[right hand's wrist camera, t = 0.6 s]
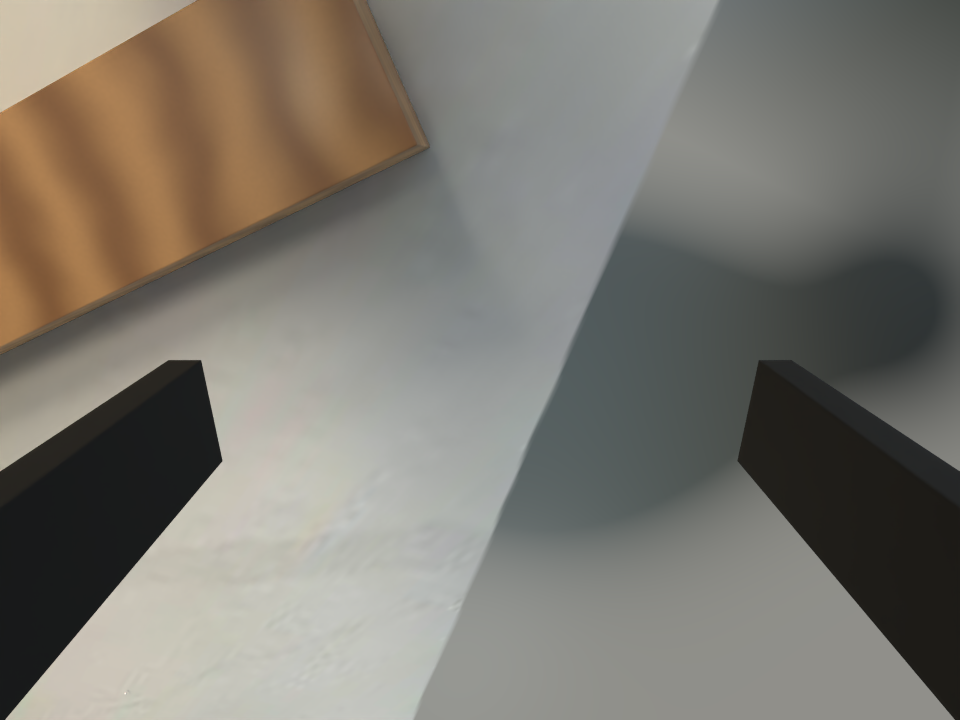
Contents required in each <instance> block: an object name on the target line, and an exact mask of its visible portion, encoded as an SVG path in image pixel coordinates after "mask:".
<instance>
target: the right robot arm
mask: <svg viewBox="0 0 960 720" xmlns="http://www.w3.org/2000/svg"><path fill="white" fill-rule="evenodd" d="M221 462H222V456H221V452H220V447H219V442H218V438H217V433H216V428H215V424H214V419H213V414H212V409H211V405H210V400H209V395H208V391H207V386H206V381H205V376H204V372H203V367H202V362H201V360H168V361H167V362H165V363H164V364H162V365H161V366H159V367H158V368H156V369H155V370H153V371H152V372H150V373H149V374H147V375H146V376H144V377H143V378H141V379H140V380H138V381H136V382H135V383H133V384H132V385H130V386H129V387H127V388H126V389H124V390H123V391H121V392H120V393H118V394H117V395H115V396H114V397H112V398H111V399H109V400H108V401H106V402H105V403H103V404H102V405H100V406H99V407H97V408H96V409H94V410H93V411H91V412H90V413H88V414H87V415H85V416H84V417H82V418H81V419H79V420H77V421H76V422H74V423H73V424H71V425H70V426H68V427H67V428H65V429H64V430H62V431H61V432H59V433H58V434H56V435H55V436H53V437H52V438H50V439H49V440H47V441H46V442H44V443H43V444H41V445H40V446H38V447H37V448H35V449H34V450H32V451H31V452H29V453H28V454H26V455H25V456H23V457H21V458H20V459H18V460H17V461H15V462H14V463H12V464H11V465H9V466H8V467H6V468H5V469H3V470H2V471H0V720H5V719H6V718H7V717H8V715H9V714H10V713H11V712H12V711H13V710H14V708H15V707H16V706H17V705H18V704H19V702H20V701H21V700H22V699H23V698H24V696H25V695H26V694H27V693H28V692H29V690H30V689H31V688H32V687H33V686H34V685H35V683H36V682H37V681H38V680H39V679H40V677H41V676H42V675H43V674H44V673H45V671H46V670H47V669H48V668H49V667H50V665H51V664H52V663H53V662H54V661H55V660H56V658H57V657H58V656H59V655H60V654H61V652H62V651H63V650H64V649H65V648H66V646H67V645H68V644H69V643H70V642H71V641H72V639H73V638H74V637H75V636H76V635H77V633H78V632H79V631H80V630H81V629H82V627H83V626H84V625H85V624H86V623H87V621H88V620H89V619H90V618H91V617H92V616H93V614H94V613H95V612H96V611H97V610H98V608H99V607H100V606H101V605H102V604H103V602H104V601H105V600H106V599H107V598H108V596H109V595H110V594H111V593H112V592H113V591H114V589H115V588H116V587H117V586H118V585H119V583H120V582H121V581H122V580H123V579H124V577H125V576H126V575H127V574H128V573H129V572H130V570H131V569H132V568H133V567H134V566H135V564H136V563H137V562H138V561H139V560H140V558H141V557H142V556H143V555H144V554H145V552H146V551H147V550H148V549H149V548H150V547H151V545H152V544H153V543H154V542H155V541H156V539H157V538H158V537H159V536H160V535H161V533H162V532H163V531H164V530H165V529H166V527H167V526H168V525H169V524H170V523H171V522H172V520H173V519H174V518H175V517H176V516H177V514H178V513H179V512H180V511H181V510H182V508H183V507H184V506H185V505H186V504H187V503H188V501H189V500H190V499H191V498H192V497H193V495H194V494H195V493H196V492H197V491H198V489H199V488H200V487H201V486H202V485H203V483H204V482H205V481H206V480H207V479H208V478H209V476H210V475H211V474H212V473H213V472H214V470H215V469H216V468H217V467H218V466H219V464H220V463H221ZM738 462H739V463H740V464H741V466H742V467H743V468H744V469H745V470H746V472H747V473H748V474H749V475H750V476H751V478H752V479H753V480H754V481H755V482H756V483H757V485H758V486H759V487H760V488H761V489H762V491H763V492H764V493H765V494H766V495H767V496H768V498H769V499H770V500H771V501H772V503H773V504H774V505H775V506H776V507H777V508H778V510H779V511H780V512H781V513H782V514H783V516H784V517H785V518H786V519H787V520H788V522H789V523H790V524H791V525H792V526H793V527H794V529H795V530H796V531H797V532H798V533H799V535H800V536H801V537H802V538H803V539H804V541H805V542H806V543H807V544H808V545H809V547H810V548H811V549H812V550H813V551H814V552H815V554H816V555H817V556H818V557H819V558H820V560H821V561H822V562H823V563H824V564H825V566H826V567H827V568H828V569H829V570H830V571H831V573H832V574H833V575H834V576H835V577H836V579H837V580H838V581H839V582H840V583H841V585H842V586H843V587H844V588H845V589H846V591H847V592H848V593H849V594H850V595H851V596H852V598H853V599H854V600H855V601H856V602H857V604H858V605H859V606H860V607H861V608H862V610H863V611H864V612H865V613H866V614H867V616H868V617H869V618H870V619H871V620H872V621H873V623H874V624H875V625H876V626H877V627H878V629H879V630H880V631H881V632H882V633H883V635H884V636H885V637H886V638H887V639H888V641H889V642H890V643H891V644H892V645H893V646H894V648H895V649H896V650H897V651H898V652H899V654H900V655H901V656H902V657H903V658H904V659H905V661H906V662H907V663H908V664H909V665H910V667H911V668H912V669H913V670H914V671H915V673H916V674H917V675H918V676H919V677H920V679H921V680H922V681H923V682H924V683H925V684H926V686H927V687H928V688H929V689H930V690H931V692H932V693H933V694H934V695H935V696H936V698H937V699H938V700H939V701H940V702H941V704H942V705H943V706H944V707H945V708H946V710H947V711H948V712H949V713H950V714H951V715H952V717H953V718H954V719H955V720H960V471H958V470H957V469H955V468H954V467H952V466H951V465H949V464H948V463H946V462H945V461H943V460H942V459H940V458H939V457H937V456H935V455H934V454H932V453H931V452H929V451H928V450H926V449H925V448H923V447H922V446H920V445H919V444H917V443H916V442H914V441H913V440H911V439H910V438H908V437H907V436H905V435H904V434H902V433H901V432H899V431H898V430H896V429H895V428H893V427H892V426H890V425H889V424H887V423H886V422H884V421H882V420H881V419H879V418H878V417H876V416H875V415H873V414H872V413H870V412H869V411H867V410H866V409H864V408H863V407H861V406H860V405H858V404H857V403H855V402H854V401H852V400H851V399H849V398H848V397H846V396H845V395H843V394H842V393H840V392H839V391H837V390H836V389H834V388H833V387H831V386H830V385H828V384H826V383H825V382H824V381H822V380H820V379H819V378H817V377H816V376H814V375H813V374H811V373H810V372H808V371H807V370H805V369H804V368H802V367H801V366H799V365H798V364H796V363H795V362H793V361H792V360H759V362H758V367H757V372H756V377H755V381H754V386H753V391H752V396H751V400H750V405H749V409H748V414H747V419H746V424H745V428H744V433H743V438H742V442H741V447H740V452H739V456H738Z"/></svg>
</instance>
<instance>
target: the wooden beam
mask: <svg viewBox="0 0 960 720" xmlns="http://www.w3.org/2000/svg"><path fill="white" fill-rule="evenodd" d="M429 147H430V145H429V143H428V141H427V139H426V136H425V134H424V132H423V129H422V127H421V125H420V123H419V120H418V118H417V116H416V114H415V111H414V109H413V107H412V104H411V102H410V100H409V98H408V95H407V93H406V91H405V89H404V86H403V84H402V82H401V79H400V77H399V75H398V73H397V70H396V68H395V66H394V63H393V61H392V59H391V57H390V54H389V52H388V50H387V48H386V45H385V43H384V41H383V38H382V36H381V34H380V32H379V29H378V27H377V25H376V22H375V20H374V18H373V16H372V13H371V11H370V9H369V7H368V4H367V2H366V0H197V1H195V2H194V3H192V4H190V5H188V6H187V7H185V8H183V9H181V10H180V11H178V12H176V13H174V14H173V15H171V16H169V17H167V18H166V19H164V20H162V21H160V22H159V23H157V24H155V25H153V26H152V27H150V28H148V29H146V30H145V31H143V32H141V33H139V34H138V35H136V36H134V37H132V38H131V39H129V40H127V41H125V42H124V43H122V44H120V45H118V46H117V47H115V48H113V49H111V50H110V51H108V52H106V53H104V54H103V55H101V56H99V57H97V58H96V59H94V60H92V61H90V62H89V63H87V64H85V65H83V66H82V67H80V68H78V69H76V70H75V71H73V72H71V73H69V74H68V75H66V76H64V77H62V78H60V79H59V80H57V81H55V82H53V83H52V84H50V85H48V86H46V87H45V88H43V89H41V90H39V91H38V92H36V93H34V94H32V95H31V96H29V97H27V98H25V99H24V100H22V101H20V102H18V103H17V104H15V105H13V106H11V107H10V108H8V109H6V110H4V111H3V112H1V113H0V355H1V354H3V353H5V352H7V351H9V350H11V349H13V348H15V347H17V346H19V345H21V344H23V343H26V342H28V341H30V340H32V339H34V338H36V337H38V336H40V335H42V334H44V333H46V332H48V331H50V330H53V329H55V328H57V327H59V326H61V325H63V324H65V323H67V322H69V321H71V320H73V319H75V318H77V317H79V316H82V315H84V314H86V313H88V312H90V311H92V310H94V309H96V308H98V307H100V306H102V305H104V304H106V303H108V302H111V301H113V300H115V299H117V298H119V297H121V296H123V295H125V294H127V293H129V292H131V291H133V290H135V289H137V288H140V287H142V286H144V285H146V284H148V283H150V282H152V281H154V280H156V279H158V278H160V277H162V276H164V275H166V274H169V273H171V272H173V271H175V270H177V269H179V268H181V267H183V266H185V265H187V264H189V263H191V262H193V261H195V260H198V259H200V258H202V257H204V256H206V255H208V254H210V253H212V252H214V251H216V250H218V249H220V248H222V247H224V246H227V245H229V244H231V243H233V242H235V241H237V240H239V239H241V238H243V237H245V236H247V235H249V234H251V233H253V232H256V231H258V230H260V229H262V228H264V227H266V226H268V225H270V224H272V223H274V222H276V221H278V220H280V219H282V218H285V217H287V216H289V215H291V214H293V213H295V212H297V211H299V210H301V209H303V208H305V207H307V206H309V205H312V204H314V203H316V202H318V201H320V200H322V199H324V198H326V197H328V196H330V195H332V194H334V193H336V192H338V191H341V190H343V189H345V188H347V187H349V186H351V185H353V184H355V183H357V182H359V181H361V180H363V179H365V178H367V177H370V176H372V175H374V174H376V173H378V172H380V171H382V170H384V169H386V168H388V167H390V166H392V165H394V164H396V163H399V162H401V161H403V160H405V159H407V158H409V157H411V156H413V155H415V154H417V153H419V152H421V151H423V150H425V149H428V148H429Z"/></svg>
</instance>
